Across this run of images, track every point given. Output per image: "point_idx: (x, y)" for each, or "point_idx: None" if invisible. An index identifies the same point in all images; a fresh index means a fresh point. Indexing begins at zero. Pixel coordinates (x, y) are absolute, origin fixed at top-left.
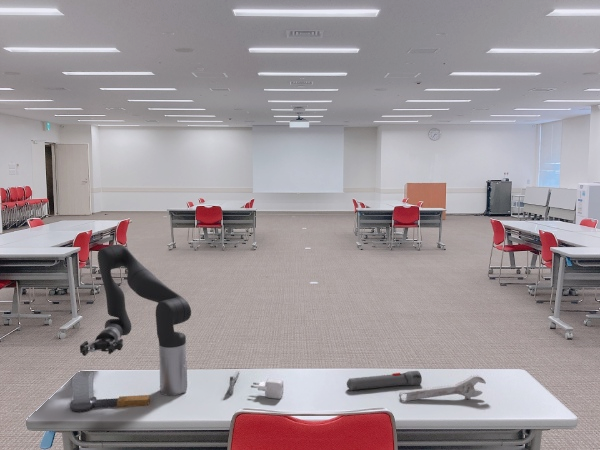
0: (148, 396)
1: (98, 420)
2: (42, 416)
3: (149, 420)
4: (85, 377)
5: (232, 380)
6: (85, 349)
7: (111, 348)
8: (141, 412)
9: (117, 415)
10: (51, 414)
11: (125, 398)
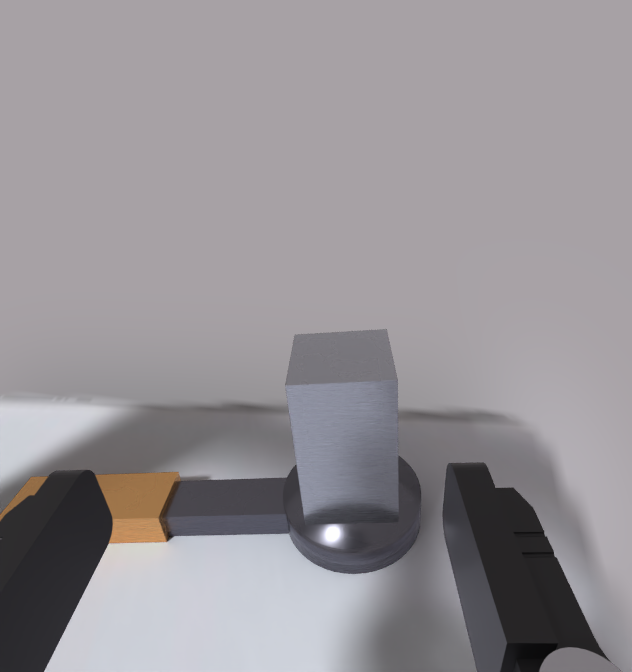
0: (11, 504)
1: (260, 413)
2: (510, 448)
3: (90, 406)
4: (311, 334)
5: None
6: (453, 472)
7: (30, 515)
8: (95, 449)
9: (190, 436)
10: (480, 459)
11: (131, 495)
